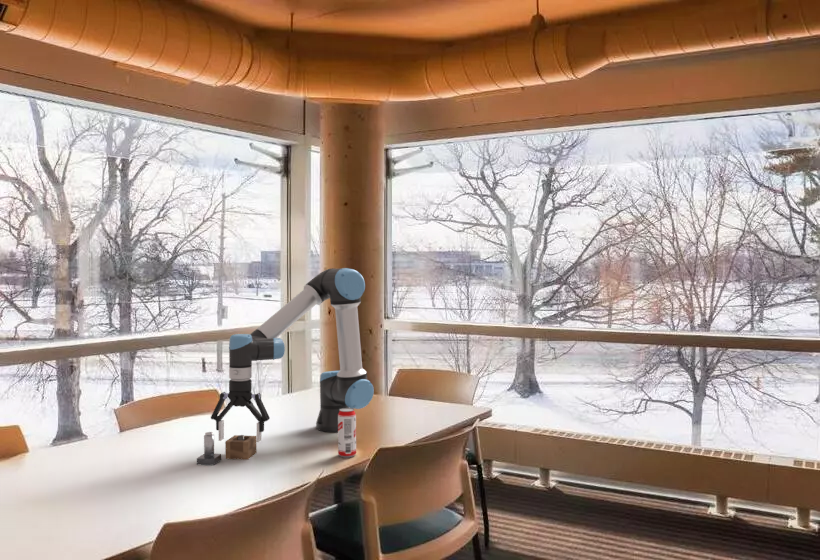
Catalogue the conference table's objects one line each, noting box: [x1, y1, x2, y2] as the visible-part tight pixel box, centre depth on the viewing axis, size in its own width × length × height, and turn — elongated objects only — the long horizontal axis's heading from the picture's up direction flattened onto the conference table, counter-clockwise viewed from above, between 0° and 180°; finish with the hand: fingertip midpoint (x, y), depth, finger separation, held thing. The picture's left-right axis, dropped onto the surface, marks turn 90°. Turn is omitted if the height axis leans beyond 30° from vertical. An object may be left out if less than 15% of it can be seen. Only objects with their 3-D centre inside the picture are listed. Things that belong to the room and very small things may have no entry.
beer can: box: [337, 408, 357, 459], centre depth 225 cm, size 6×6×16 cm
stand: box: [238, 434, 245, 441], centre depth 226 cm, size 4×4×7 cm
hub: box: [196, 431, 223, 466], centre depth 219 cm, size 6×6×10 cm
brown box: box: [224, 434, 258, 461], centre depth 226 cm, size 8×8×6 cm
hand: (240, 440), depth 225 cm, fingers open, 13 cm apart
